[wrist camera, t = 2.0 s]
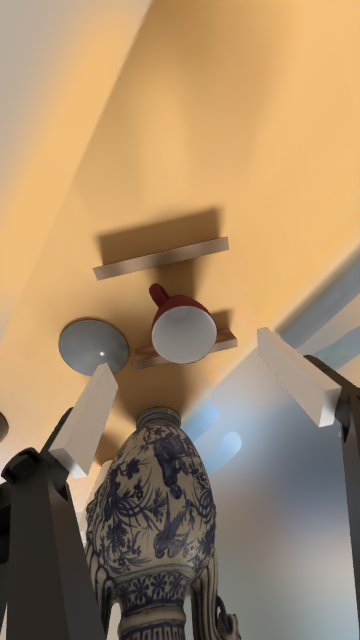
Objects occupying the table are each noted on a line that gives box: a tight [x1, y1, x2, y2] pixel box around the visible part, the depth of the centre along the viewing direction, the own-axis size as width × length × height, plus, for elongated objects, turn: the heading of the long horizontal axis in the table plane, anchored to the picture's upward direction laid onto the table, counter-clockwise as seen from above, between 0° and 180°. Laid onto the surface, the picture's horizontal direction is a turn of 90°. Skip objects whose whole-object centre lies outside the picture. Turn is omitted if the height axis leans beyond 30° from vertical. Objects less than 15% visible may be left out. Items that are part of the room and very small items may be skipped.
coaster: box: [59, 320, 129, 376], centre depth 31 cm, size 12×12×1 cm
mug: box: [149, 283, 217, 364], centre depth 24 cm, size 11×8×10 cm
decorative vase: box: [84, 407, 241, 640], centre depth 27 cm, size 21×19×28 cm
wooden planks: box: [93, 236, 237, 370], centre depth 27 cm, size 18×17×4 cm
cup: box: [79, 460, 113, 544], centre depth 40 cm, size 9×9×12 cm
